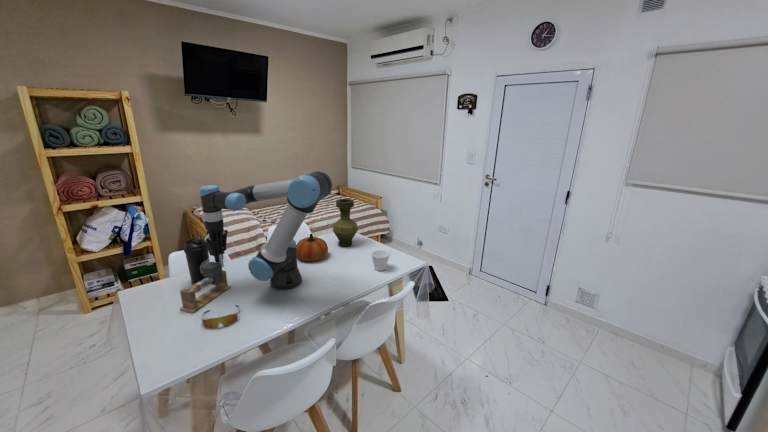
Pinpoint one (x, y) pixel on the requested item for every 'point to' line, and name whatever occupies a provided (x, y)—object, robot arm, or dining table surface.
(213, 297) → the rail
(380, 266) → the cup
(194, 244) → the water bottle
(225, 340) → the dining table surface
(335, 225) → the vase
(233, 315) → the sunglasses
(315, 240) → the pumpkin
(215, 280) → the collar
